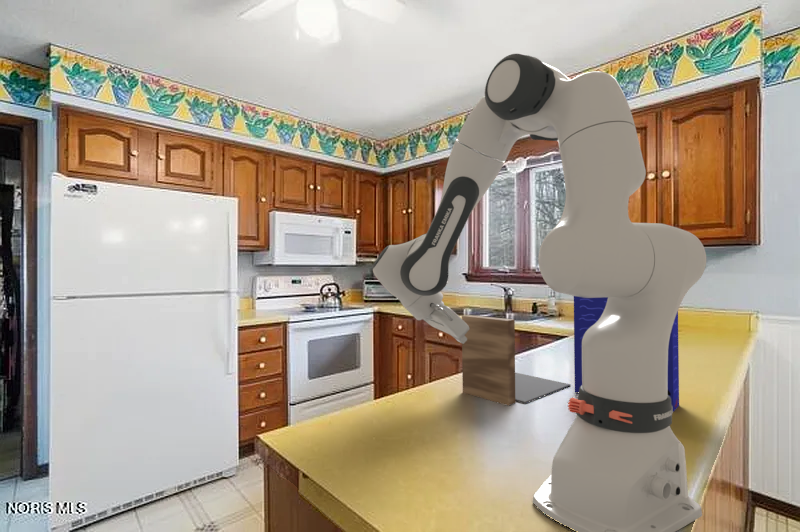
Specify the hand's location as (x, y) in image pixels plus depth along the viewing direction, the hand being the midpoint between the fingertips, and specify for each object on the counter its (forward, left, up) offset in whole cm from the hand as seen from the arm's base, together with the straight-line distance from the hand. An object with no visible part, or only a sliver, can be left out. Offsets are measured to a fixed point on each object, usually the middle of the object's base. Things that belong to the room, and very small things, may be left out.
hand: (463, 340), depth 103 cm
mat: (+19, -3, -14) cm, 24 cm away
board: (+6, -3, -14) cm, 16 cm away
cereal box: (+30, -26, -15) cm, 42 cm away
